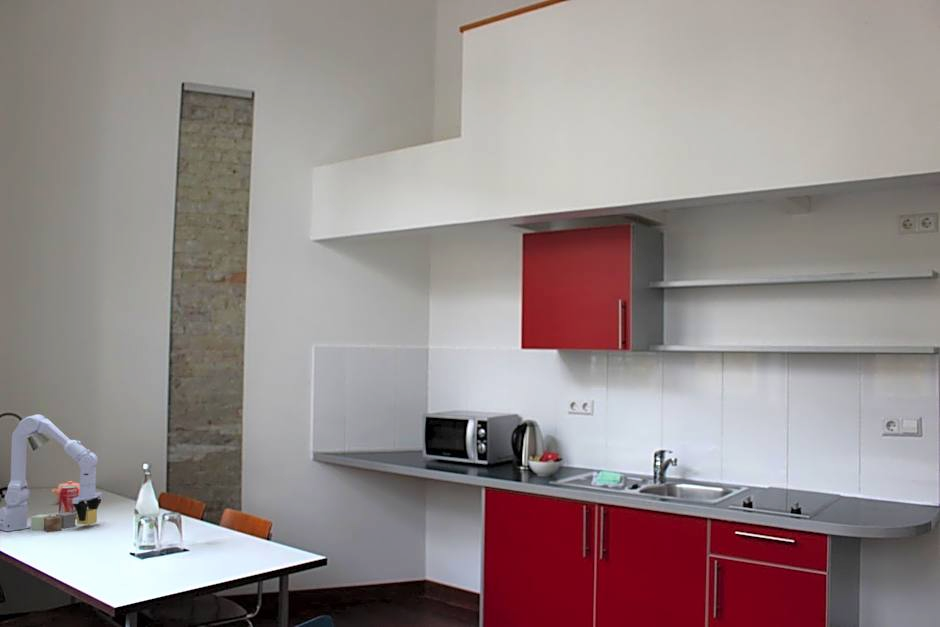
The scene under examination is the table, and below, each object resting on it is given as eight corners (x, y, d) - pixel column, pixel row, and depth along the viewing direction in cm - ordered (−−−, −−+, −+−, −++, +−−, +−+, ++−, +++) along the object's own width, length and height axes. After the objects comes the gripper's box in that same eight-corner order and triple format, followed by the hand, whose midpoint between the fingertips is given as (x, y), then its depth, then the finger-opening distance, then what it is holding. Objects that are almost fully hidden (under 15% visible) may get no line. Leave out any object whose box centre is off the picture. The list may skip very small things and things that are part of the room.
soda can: (81, 516, 362) (81, 485, 363) (71, 520, 355) (72, 488, 356) (64, 516, 363) (65, 484, 363) (55, 520, 356) (55, 487, 356)
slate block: (63, 528, 340) (64, 515, 340) (55, 527, 343) (55, 514, 343) (75, 526, 345) (75, 513, 345) (67, 524, 347) (67, 512, 347)
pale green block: (43, 530, 337) (44, 517, 337) (31, 530, 337) (31, 517, 337) (50, 527, 342) (50, 514, 342) (37, 527, 342) (38, 514, 342)
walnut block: (47, 532, 333) (47, 519, 333) (44, 530, 337) (44, 517, 337) (61, 531, 336) (61, 517, 336) (58, 528, 340) (59, 515, 340)
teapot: (51, 505, 386) (51, 483, 387) (60, 500, 398) (60, 479, 399) (78, 505, 388) (79, 483, 388) (87, 500, 400) (87, 478, 400)
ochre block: (87, 524, 340) (88, 511, 341) (77, 523, 342) (77, 510, 342) (96, 522, 345) (96, 509, 345) (85, 521, 347) (86, 508, 347)
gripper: (83, 487, 336) (82, 523, 336) (108, 482, 350) (107, 516, 350) (68, 486, 338) (67, 522, 337) (93, 481, 352) (92, 515, 351)
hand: (86, 519), depth 344 cm, fingers closed on ochre block, 5 cm apart
